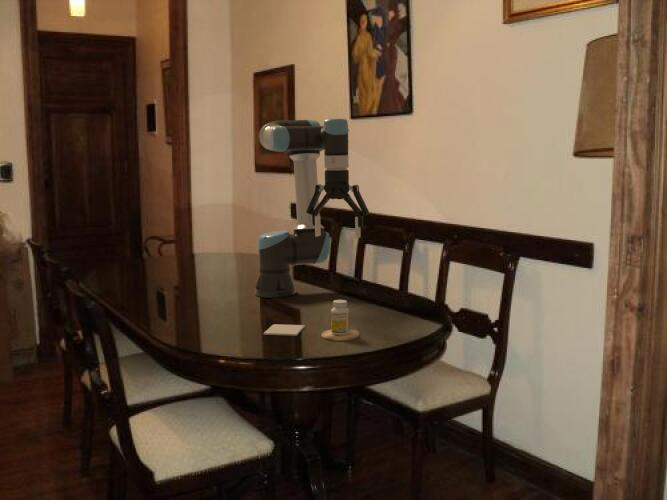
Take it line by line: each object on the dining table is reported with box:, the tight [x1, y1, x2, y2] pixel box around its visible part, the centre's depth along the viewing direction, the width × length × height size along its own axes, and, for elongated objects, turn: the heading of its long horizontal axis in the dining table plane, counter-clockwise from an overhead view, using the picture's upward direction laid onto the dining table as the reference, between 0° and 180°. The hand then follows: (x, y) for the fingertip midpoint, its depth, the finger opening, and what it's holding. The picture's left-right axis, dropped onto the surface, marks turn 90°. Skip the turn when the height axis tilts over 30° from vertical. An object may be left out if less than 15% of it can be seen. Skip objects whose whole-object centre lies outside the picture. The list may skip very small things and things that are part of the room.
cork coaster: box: [321, 328, 360, 342], centre depth 202 cm, size 11×11×1 cm
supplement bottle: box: [330, 299, 350, 335], centre depth 201 cm, size 5×5×10 cm
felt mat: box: [263, 323, 306, 337], centre depth 208 cm, size 10×10×1 cm
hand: (337, 236), depth 219 cm, fingers open, 13 cm apart
